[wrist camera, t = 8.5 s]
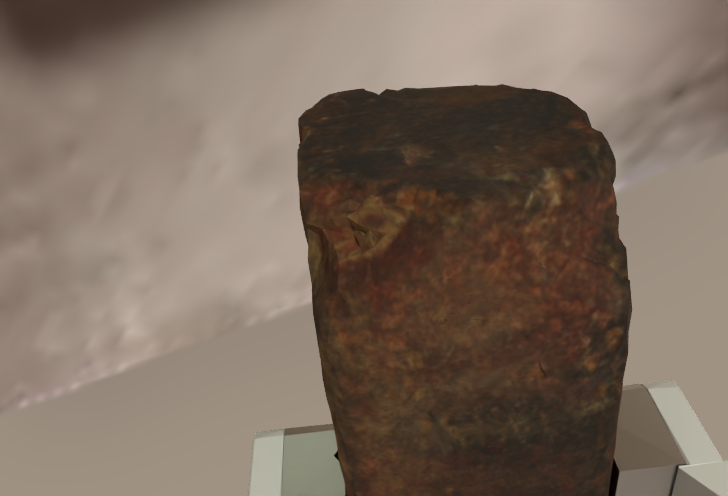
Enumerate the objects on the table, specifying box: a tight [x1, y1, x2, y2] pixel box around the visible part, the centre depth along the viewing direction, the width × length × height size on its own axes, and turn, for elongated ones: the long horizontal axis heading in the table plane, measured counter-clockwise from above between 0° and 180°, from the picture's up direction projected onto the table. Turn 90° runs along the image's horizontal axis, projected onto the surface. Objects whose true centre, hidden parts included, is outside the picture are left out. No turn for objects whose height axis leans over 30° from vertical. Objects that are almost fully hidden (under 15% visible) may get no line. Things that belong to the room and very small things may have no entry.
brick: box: [298, 84, 632, 496], centre depth 12 cm, size 11×4×5 cm, turn 7°
